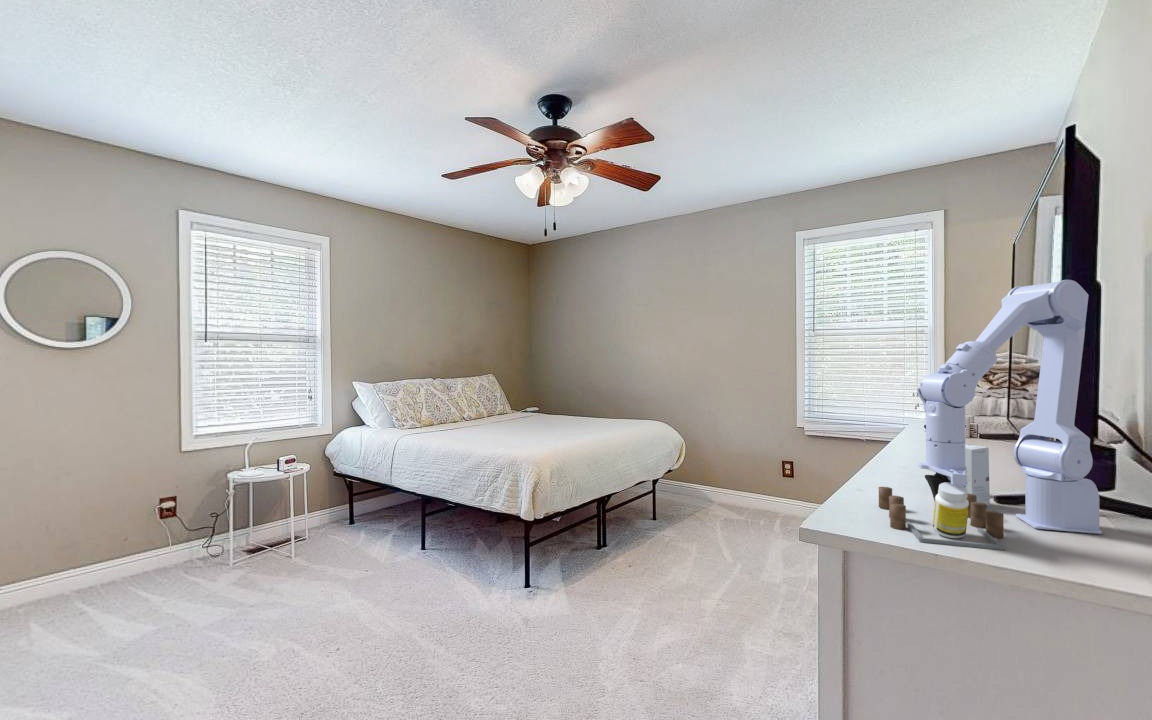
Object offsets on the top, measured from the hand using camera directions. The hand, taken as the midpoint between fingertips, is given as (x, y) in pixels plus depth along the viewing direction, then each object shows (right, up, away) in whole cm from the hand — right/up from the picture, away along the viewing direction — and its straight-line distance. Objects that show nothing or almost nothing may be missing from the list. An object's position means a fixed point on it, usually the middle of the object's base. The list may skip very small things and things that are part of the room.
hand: (945, 516), depth 93 cm
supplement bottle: (-1, -2, -2) cm, 3 cm away
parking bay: (-1, -3, -3) cm, 4 cm away
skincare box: (+16, -2, +16) cm, 23 cm away
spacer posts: (+2, -2, +6) cm, 6 cm away
